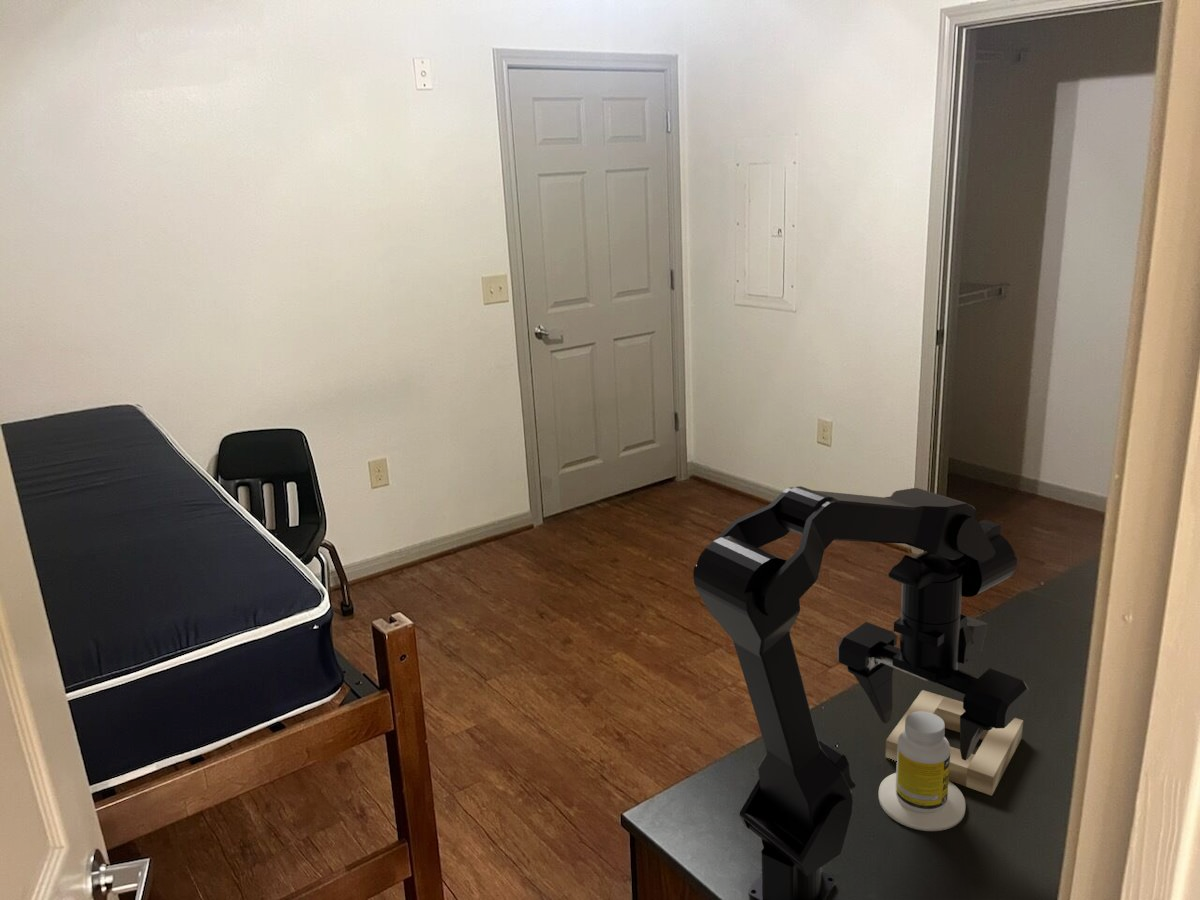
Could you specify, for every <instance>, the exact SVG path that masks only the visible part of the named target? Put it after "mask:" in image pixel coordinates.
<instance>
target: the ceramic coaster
mask: <svg viewBox="0 0 1200 900" xmlns="http://www.w3.org/2000/svg"><path fill="white" fill-rule="evenodd" d="M878 787H879V788H878V802H879V805H880V807H881V808H882V810H883V811H884V813H885V814H886V815H887V816H888V817H890V818H891V819H892V820H894V822H897V823H898V824H900V825H903V826H904V827H907V828H910V829H914V830H918V831H924V832H940V831H945V830H948V829H952V828H954V827H955V826H957V825H958V824H959V823H961V821H962V820H963V819H964V816H965V815H966V799H965V797H964V795H963V793H962V791H961V790H960V789H959V788H958V786H956V785H955V783H954V782H952V781H948V796H947V802H946V805H945V806H944V807H943V808H942V809H941V810H939V811H936V812H931V813H922V812H917V811H914V810H911V809H909V808H907V807H905V806H904V805H903V804H902V803H901V802H900V801H899V800H898V798H897V796H896V772H894V773H892V774H890V775H888V776H886V777H885V778H884V779H883V780H882V781H881V783H880V785H879V786H878Z"/></svg>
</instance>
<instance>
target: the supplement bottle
mask: <svg viewBox="0 0 1200 900" xmlns="http://www.w3.org/2000/svg"><path fill="white" fill-rule="evenodd" d="M945 734H946V728H945V723H944V721H943V720H942V719H941V718H940V717H939V716H937V715H935V714H933V713H930V712H924V711H918V712H913V713H911V714H909V715H908V716H907V717H906V720H905V731H903V732H902V733H901V734H900V736H899V738H898V744H897V762H896V766H895V767H896V768H895V769H896V770H895V773H896V796H897V798H898V800H899V801H900V802H901V803H902V804H903V805H904V806H905V807H907V808H909V809H911V810H914V811H917V812H922V813H931V812H936V811H939V810H941V809H942V808H943V807H944V806H945V805H946V802H947V796H948V781H949V765H950V746H951V745H950V742H949V740H948V739H947V737H946V736H945Z"/></svg>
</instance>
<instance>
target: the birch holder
mask: <svg viewBox="0 0 1200 900" xmlns="http://www.w3.org/2000/svg"><path fill="white" fill-rule="evenodd" d="M918 711H924V712H930V713H933V714H935V715H937V716H939V717H940V718H941V719H942V720H943V721H944V723H945V729H948V730H951V731H954V732H956V733H960V716H961V715H962V714H963V713H964V712H965V710H964V708H963V701H960V700H957V699H953V698H950V697H947V696H945V695H944V696H943V695H940V694H938V693H933V692H931V691H927V690H924V689H922V690H921V691H920V692H919V694H918V696H917V697H916V698H915V699H914V701H913V702H912V704H911V705H910V707H908V709H907V711H906V712H905V713H904V715H903V716H902V718H901V719H900V720H899V721H898V723H897V725H896V726H895V727H894V728H893V730H892V731H891V732H890V734H889V735H888V737H887V738H886V740H885V758H886V757H887V758H890V759H892V760H891V761H893V760H894V761H893V762H896V761H897V744H898V738H899V736H900V734H901V733H902V732H903V731H905V720H906V717H907V716H908V715H909V714H911V713H913V712H918ZM1023 727H1024V720H1023V719H1020V718H1017V717H1015V718H1014V719H1013V720H1012V721H1011V722H1010V723H1009V724H1008V725H1007V726H1006V727H1005V728H994V727H993V728H992V729H991V730H984V731H983V733H982V735H981V737H980V739H979V740H982V742H981V744H980V745H979V747H978V748H977V750H976V752H975V754H974V753H972V754H971V755H970V757H969V758H968V759H967V760H966V761H965V760H963V759H962V757H961V752H960V748H956V747H954V746H951V745H950V765H949V781H950V782H951V783H953V784H957V785H961V786H964V787H965V788H969V789H972V790H974V791H977V792H980V793H983V794H986V795H988V796H991V797H992V796H993V794H994V793H995V791H996V789H997V787H998V785H999V783H1000V781H1001V779H1002V777H1003V775H1004V773H1005V772H1006V769H1007V768H1008V766H1009V763H1010V761H1011V759H1012V758H1013V756H1014V754H1015V752H1016V750H1017V748H1018V746H1019V744H1020V743H1021V740H1022V738H1023ZM887 758H886V759H887ZM890 759H889V760H890Z"/></svg>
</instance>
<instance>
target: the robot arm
mask: <svg viewBox="0 0 1200 900" xmlns="http://www.w3.org/2000/svg"><path fill="white" fill-rule="evenodd" d="M976 512H977V511H976V507H975V506H973V504H970V503H967V502H964V501H961V500H958V499H955V498H951V497H948V496H945V495H941V494H938V493H936V492H935V493H934V492H931V491H928V490H925V489H923V488H919V487H913V488H906V489H899V490H895V491H893V492H892V494H890V496H886V497H885V496H884V497H881V496H874V495H873V496H871V495H870V496H869V495H862V494H861V495H860V494H854V493H853V494H852V493H842V492H835V491H834V492H832V491H824V490H815V489H814V490H813V489H810V488H808V487H804V486H792V487H787V488H786V489H784V490H783V491H782V492H781V493H780V494H779V495H778V496H777V497H775V499H773V501H771V503H769V504H768V505H765V506H764V507H761V508H759V509H757V510H755V511H752V512H750V513H748V514H745V515H743V516H741V517H739V518H737V519H734V521H732V522H731V523H730V524H729V525H728V526H727V527H725V529H724V530H723V531H721V533H720V534H719V535H718V536H717V537H716V538H714V540H713V541H711V542H710V543H709V544H708V545H707V546H706V548H704V550H703V551H702V552H701V554H700V555H699V557H698V559H697V562H696V565H695V566H693V567H694V568H693V571H692V572H693V573H692V576H693V583H694V586H695V589H696V591H697V593H698V595H699V597H700V598H701V600H702V602H703V603H704V606H705V607H706V610H707V611H708V612H709V614H710V615H712V617H713V618H714V619H715V621H716V622H717V623H718V624H719V625H720V626H721V628H722V629H723V630H724V631H725V632H726V633H727V635H728V636H729V637H730V638H731V640H732V642H733V645H734V648H735V651H736V655H737V658H738V662H739V664H740V668H741V672H742V675H743V679H744V681H745V685H746V688H747V691H748V695H749V698H750V700H751V705H752V708H753V711H754V714H755V717H756V722H757V723H758V727H759V730H760V734H761V738H762V739H763V743H764V747H765V754H764V756H763V757H762V759H761V761H760V762H759V763H758V766H757V769H758V770H757V771H758V780H757V782H756V784H755V785H754V787H753V789H752V790H751V792H750V793H749V796H748V798H747V799H746V801H745V802H744V804H743V806H742V807H741V809H740V811H739V813H738V814H739V817H740V819H741V822H742V824H743V826H744V827H745V828H747V829H748V830H750V831H751V832H753V833H754V834H755V835H757V836H758V837H759V838H760V839H761V852H760V853H761V855H760V856H761V858H760V859H761V861H760V863H761V873H760V875H759V876H758V877H757V878H756V880H755V881H754V882H753V883H752V885H751V887H750V888H749V889H748V892H747V893H748V897H749V898H750V899H751V900H827V898H828V897H829V895H830V893H831V892H832V890H833V889H834V887H835V886H836V878H835V877H834V876H832V875H830V874H829V873H825V872H823V866H825V865H827V864H828V863H829V862H831V861H832V860H834V859H835V858H836V857H838V856H840V855H841V853H842V850H843V848H844V847H843V846H844V843H845V839H846V836H847V831H848V828H849V824H850V821H851V817H852V812H853V803H854V801H853V792H852V789H855V788H856V784H855V783H854V782H853V780H852V778H851V774H850V763H849V762H848V761H849V760H848V759H847V757H846V755H845V754H843V753H842V752H840V751H839V750H837V749H836V748H834V747H832V746H831V745H830V744H828V743H826V742H825V741H823V740H821V739H820V738H819V737H818V734H817V730H816V726H815V723H814V719H813V716H812V711H811V707H810V703H809V701H808V697H807V693H806V690H805V686H804V681H803V678H802V673H801V670H800V666H799V664H798V659H797V656H796V652H795V649H794V644H793V640H792V636H791V632H790V631H791V629H792V627H793V625H794V624H795V622H796V621H797V617H798V616H799V614H800V612H801V602H800V599H801V598H802V597H803V596H804V594H806V593H807V591H809V590H810V588H811V587H812V586H813V585H814V584H815V583H816V582H817V580H818V578H819V574H820V570H821V565H822V562H823V557H824V552H825V550H826V549H827V548H828V546H830V545H831V544H832V543H833V542H834V541H847V542H848V541H849V542H862V543H863V542H868V543H885V544H886V543H887V544H901V545H902V544H903V545H904V544H905V545H907V546H910V547H913V548H915V549H918V550H921V551H924V552H920V553H917V554H916V555H913V556H910V555H907V554H905V555H903V557H902V559H900V561H899V562H898V563H896V564H895V565H893V566H892V567H891V569H890V571H889V572H888V574H887V575H888V576H887V577H888V578H889V579H891V580H894V581H897V582H898V583H901V598H900V599H901V603H900V617H899V618H898V619H896V620H895V621H894V622H893V631H891V630H889V629H886V628H883V627H880V626H878V625H876V624H873V623H870V622H868V621H865V622H864V623H862V624H860V625H859V626H858V627H856V628H855V629H853V630H852V631H850V632H848V633H847V634H846V635H845V636H843V637H842V638H840V639H839V642H838V644H837V648H836V649H837V651H836V652H837V654H836V655H837V661H838V663H839V664H842V665H844V666H846V667H847V668H846V669H847V672H848V673H850V674H852V675H853V676H854V677H855V679H856V680H857V682H858V683H859V686H861V688H862V689H863V691H864V692H865V694H866V696H867V697H868V699H869V701H870V703H871V704H872V706H873V708H874V710H875V712H876V713H877V715H878V717H879V719H880V720H881V723H883V724H884V725H886V724H888V723H889V722H890V721H891V720H892V713H893V673H894V670H895V669H897V670H899V671H901V672H902V673H905V674H908V675H911V676H913V677H915V678H918V679H920V680H923V681H926V682H929V681H930V682H933V683H934V684H938V685H940V686H944V687H946V688H948V689H950V690H953V691H956V692H958V693H960V694H964V697H963V699H962V702H963V708H964V710H965V712H964V713H963V714H962V715H961V716H960V732H959V749H960V752H961V757H962V759H963V760H965V761H966V760H967V759H968V758H969V757H970V755H971V754H973V751H974V750H975V748H976V746H977V745H978V742H979V740H981V739H980V737H981V735H982V733H983V731H984V730H991V729H992V728H993V727H994V728H1005V727H1006V726H1007V725H1008V724H1009V723H1010V722H1011V721H1012V720H1013V719H1014V718H1017V716H1018V715H1020V713H1021V712H1023V711H1024V709H1025V708H1027V707H1028V705H1029V699H1030V690H1029V687H1028V686H1027V683H1026V682H1025V681H1024V680H1022V679H1020V678H1017V677H1015V676H1012V675H1009V674H1007V673H1003V672H1001V671H999V670H996V669H993V668H991V667H989V668H988V669H987V670H986V671H984V672H983V674H981V675H980V676H979V677H978V676H976V675H973V674H971V673H968V672H965V671H963V670H960V669H959V668H958V666H959V664H962V665H966V664H967V663H968V662H970V660H971V653H975V652H976V653H981V652H982V651H983V648H984V642H985V639H986V633H987V629H988V626H989V625H988V623H987V622H985V621H982V620H980V619H977V618H974V617H971V616H968V615H965V614H962V613H961V612H962V598H963V597H964V598H971V597H975V596H976V595H977V596H978V595H979V594H980V593H982V592H985V591H987V590H988V589H990V588H992V587H994V586H996V585H997V584H1000V583H1001V582H1004V581H1005V580H1007V579H1009V578H1011V576H1013V575H1014V573H1015V572H1016V569H1017V564H1018V558H1017V557H1016V553H1015V551H1014V549H1013V547H1012V545H1011V543H1009V541H1008V540H1007V539H1006V538H1005V537H1004V536H1003V535H1001V533H1002V528H1001V527H1002V525H1001V524H1000V523H996V522H992V521H989V520H986V519H983V520H980V521H979V520H978V519H977V518H976V515H975V514H976ZM790 532H792V533H795V534H797V535H799V536H801V540H800V544H799V546H798V549H797V550H796V551H795V553H794V554H792V555H791V556H790V557H789V559H788V560H786V559H784V558H782V557H779V556H777V555H774V553H773V554H772V553H770V552H768V551H766V550H764V549H761V548H762V547H763V546H765V545H768V544H770V543H772V542H774V541H776V540H779V539H781V538H783V537H785V536H786V535H788V534H789V533H790ZM760 547H761V548H760ZM895 632H896V633H898V634H900V635H899V638H900V639H899V647H897V643H898V642H897V641H898V635H897V634H896V633H895Z"/></svg>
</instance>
